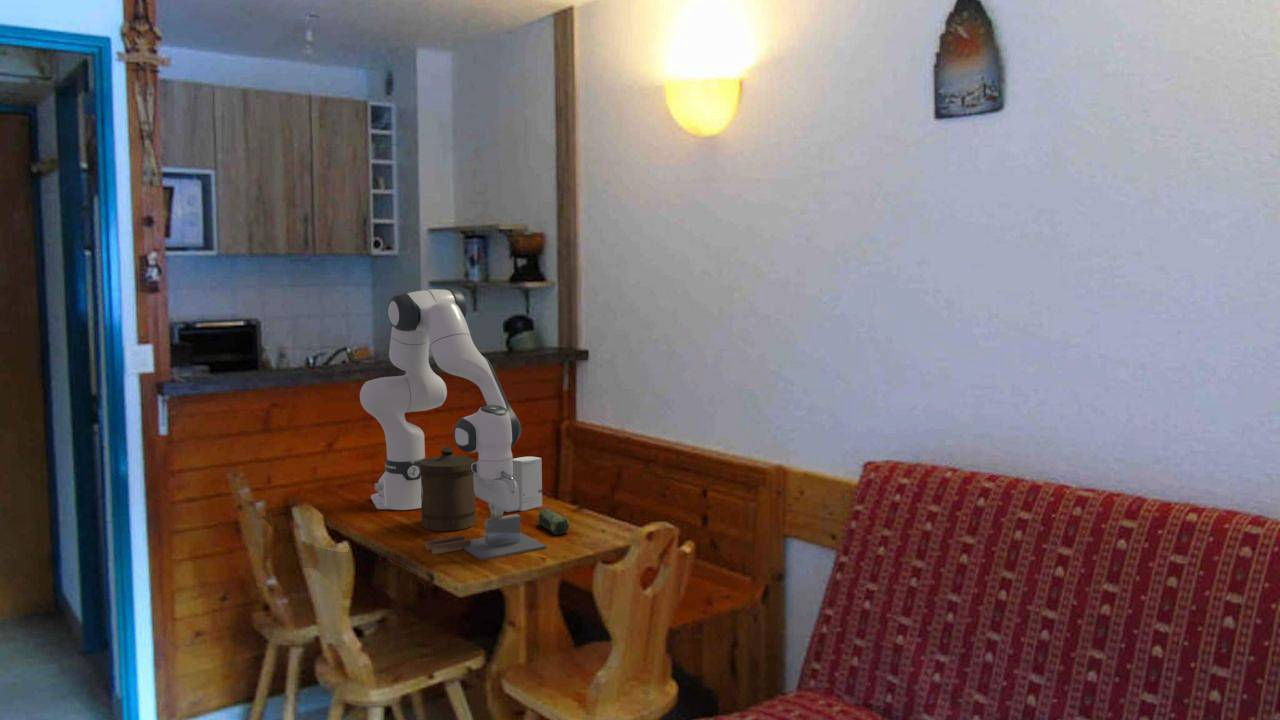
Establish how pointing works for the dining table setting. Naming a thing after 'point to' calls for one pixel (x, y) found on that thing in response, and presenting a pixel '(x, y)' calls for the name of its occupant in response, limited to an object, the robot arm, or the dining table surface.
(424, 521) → the wooden container
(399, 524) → the dining table surface
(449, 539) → the holder
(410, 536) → the dining table surface
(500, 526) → the tile
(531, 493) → the skincare box
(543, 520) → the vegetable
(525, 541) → the mat
